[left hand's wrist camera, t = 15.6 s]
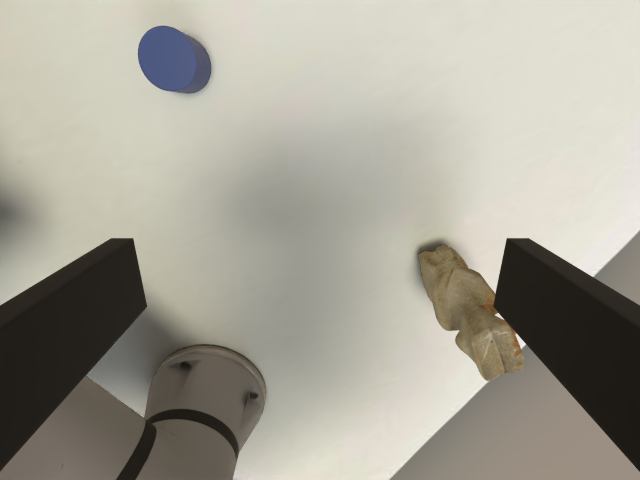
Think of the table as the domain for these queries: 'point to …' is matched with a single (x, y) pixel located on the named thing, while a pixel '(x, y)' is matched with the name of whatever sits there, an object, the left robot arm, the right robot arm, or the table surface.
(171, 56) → the can
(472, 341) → the sculpture
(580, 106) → the table surface
